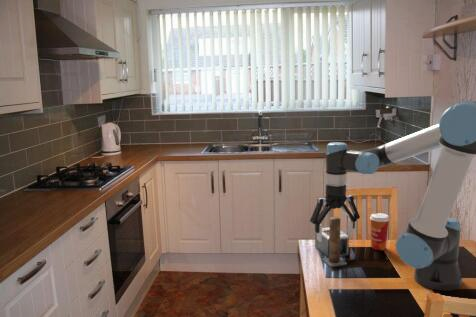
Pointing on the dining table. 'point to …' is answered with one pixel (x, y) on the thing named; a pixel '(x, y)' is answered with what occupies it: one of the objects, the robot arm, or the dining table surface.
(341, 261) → the mat
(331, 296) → the dining table surface
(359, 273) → the dining table surface
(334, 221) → the stylus
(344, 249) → the box
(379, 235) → the paper cup
